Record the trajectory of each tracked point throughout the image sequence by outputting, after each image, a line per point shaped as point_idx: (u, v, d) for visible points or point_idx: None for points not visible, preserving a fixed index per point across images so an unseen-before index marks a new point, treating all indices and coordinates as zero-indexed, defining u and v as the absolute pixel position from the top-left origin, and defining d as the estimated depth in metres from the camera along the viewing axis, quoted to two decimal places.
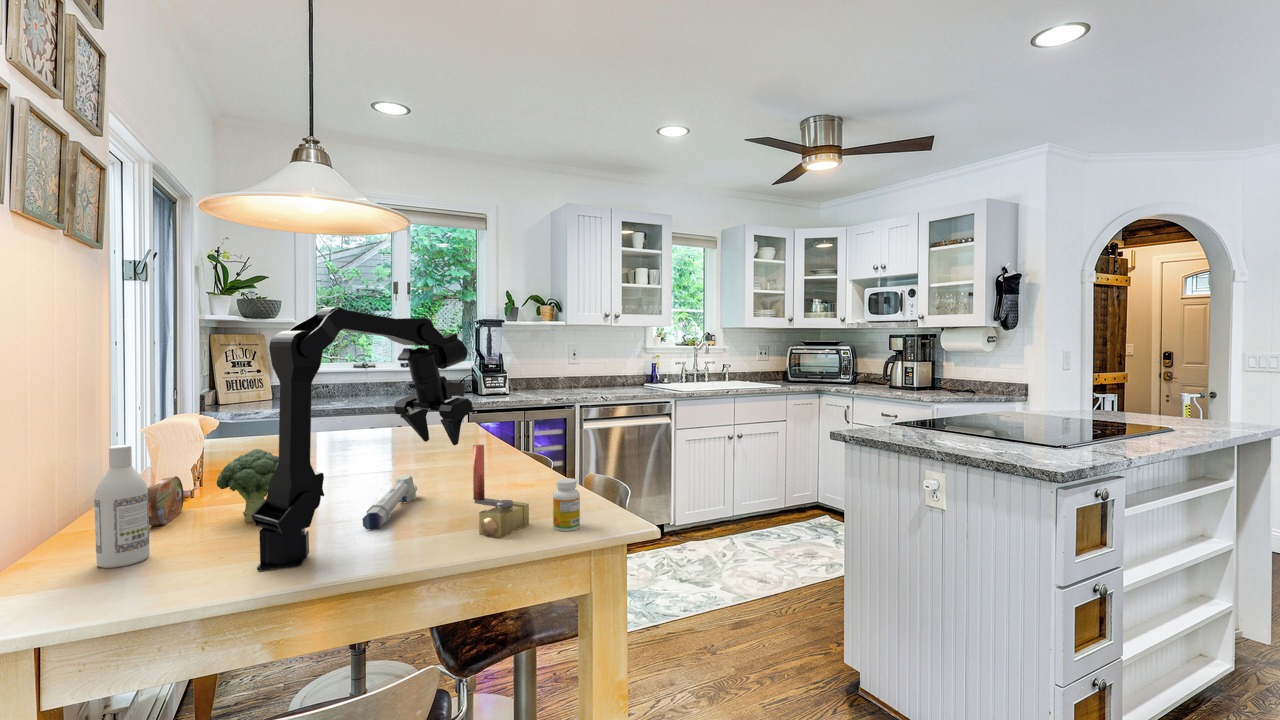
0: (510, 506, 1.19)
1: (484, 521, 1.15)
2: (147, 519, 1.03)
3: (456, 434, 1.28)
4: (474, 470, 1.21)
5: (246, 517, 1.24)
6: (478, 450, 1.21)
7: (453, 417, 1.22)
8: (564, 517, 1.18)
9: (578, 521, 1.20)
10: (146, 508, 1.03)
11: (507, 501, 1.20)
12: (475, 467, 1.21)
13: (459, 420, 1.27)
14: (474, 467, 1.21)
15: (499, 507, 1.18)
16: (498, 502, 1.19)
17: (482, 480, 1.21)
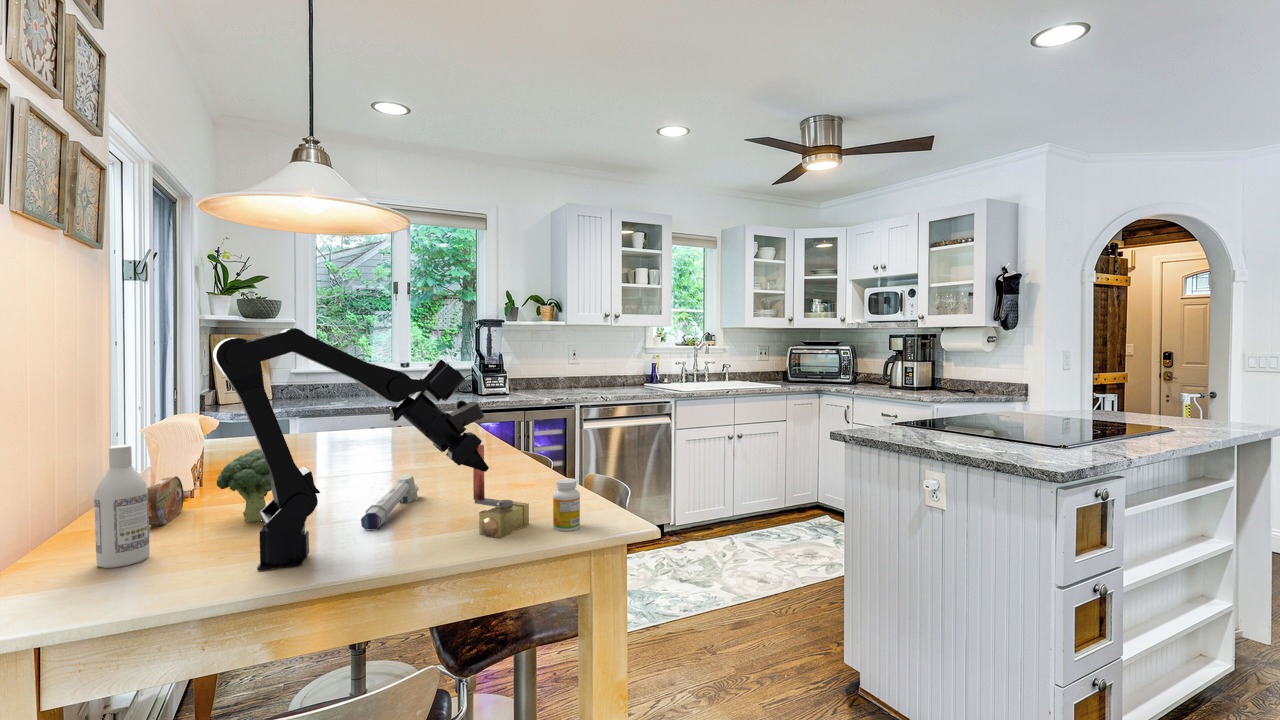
0: (510, 506, 1.19)
1: (484, 521, 1.15)
2: (147, 519, 1.03)
3: (479, 463, 1.20)
4: (474, 470, 1.21)
5: (246, 517, 1.24)
6: (478, 450, 1.21)
7: (459, 463, 1.11)
8: (564, 517, 1.18)
9: (578, 521, 1.20)
10: (146, 508, 1.03)
11: (507, 501, 1.20)
12: None
13: (473, 450, 1.18)
14: None
15: (499, 507, 1.18)
16: (498, 502, 1.19)
17: (482, 480, 1.21)
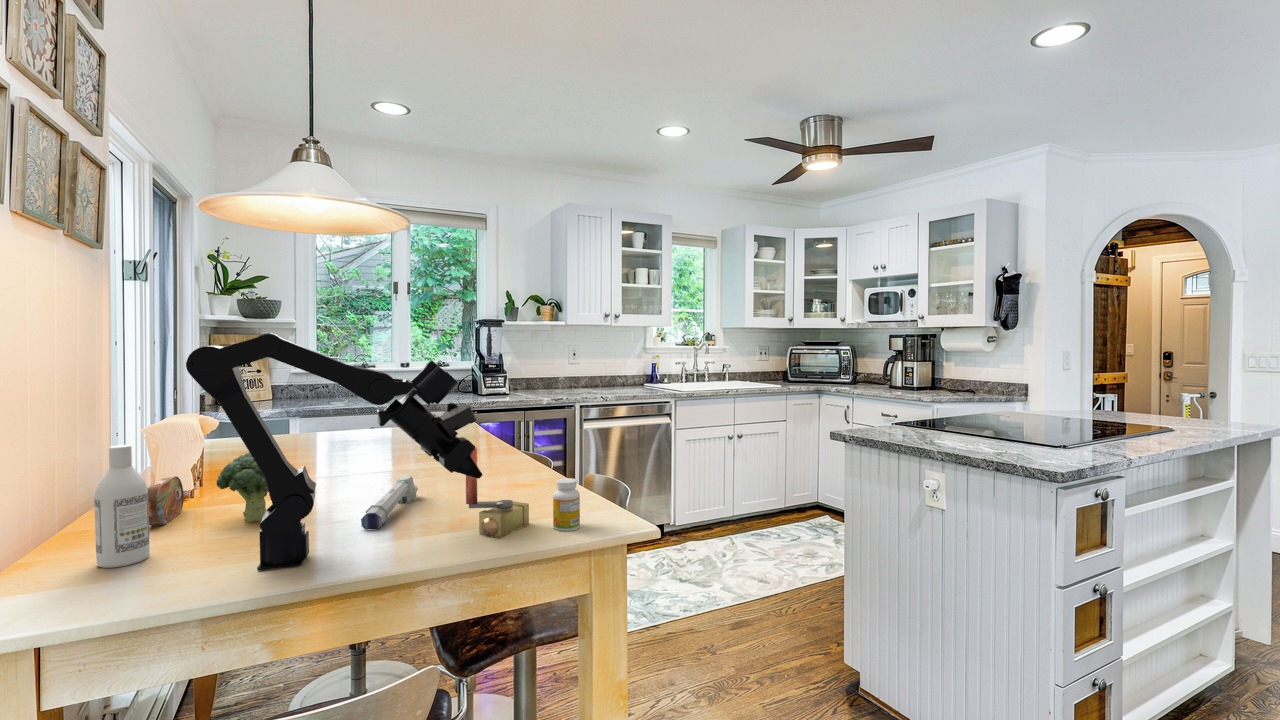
0: (512, 505, 1.19)
1: (484, 521, 1.15)
2: (147, 519, 1.03)
3: (473, 469, 1.14)
4: None
5: (246, 517, 1.24)
6: (474, 453, 1.18)
7: (451, 470, 1.06)
8: (564, 517, 1.18)
9: (578, 521, 1.20)
10: (146, 508, 1.03)
11: (506, 501, 1.20)
12: None
13: (467, 457, 1.12)
14: None
15: (503, 507, 1.18)
16: (499, 503, 1.18)
17: (476, 483, 1.19)
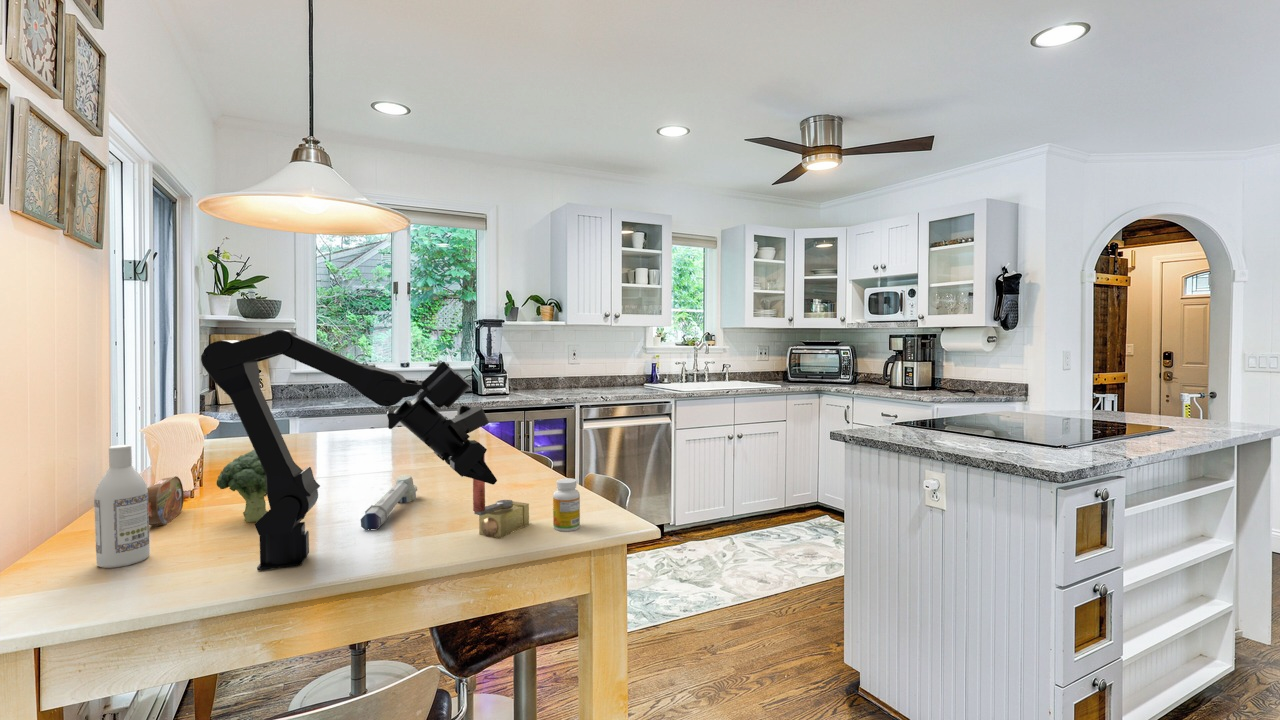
0: None
1: (484, 521, 1.15)
2: (147, 519, 1.03)
3: (487, 475, 1.09)
4: None
5: (246, 517, 1.24)
6: (484, 457, 1.14)
7: (462, 474, 1.02)
8: (564, 517, 1.18)
9: (578, 521, 1.20)
10: (146, 508, 1.03)
11: (504, 501, 1.20)
12: None
13: (480, 462, 1.08)
14: None
15: (510, 506, 1.18)
16: (504, 503, 1.18)
17: None
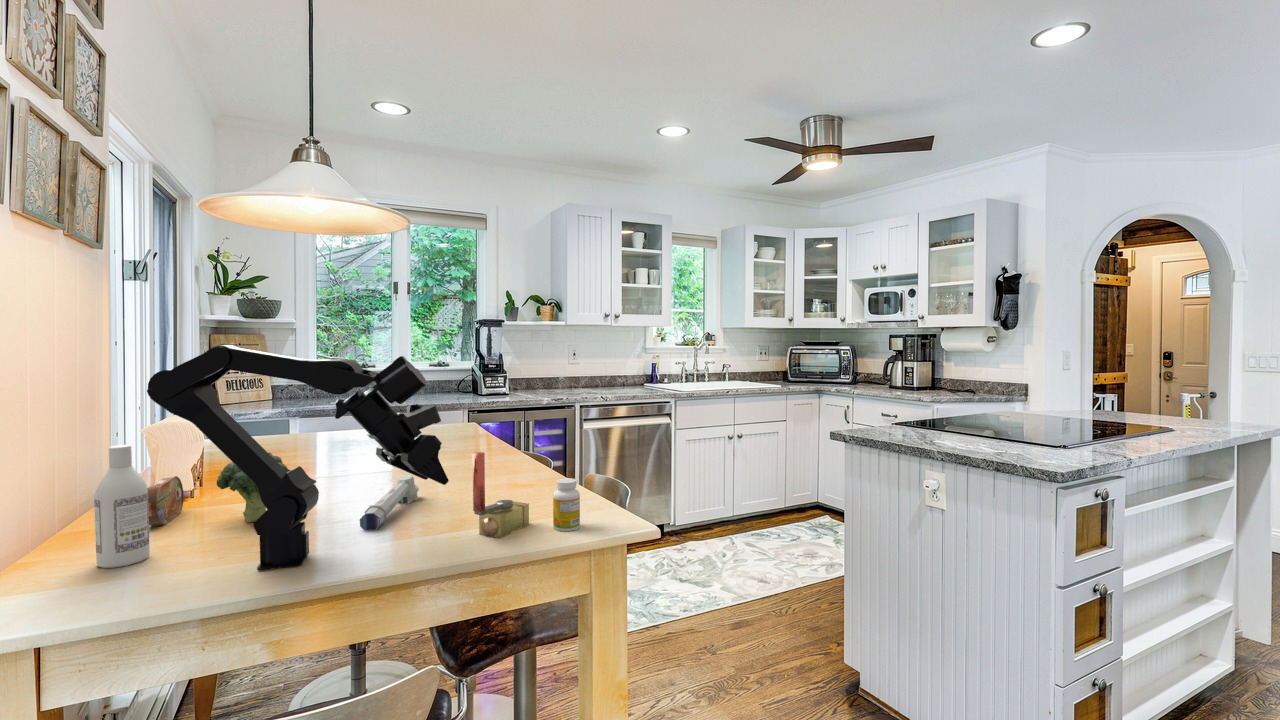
0: None
1: (484, 521, 1.15)
2: (147, 519, 1.03)
3: (439, 474, 1.05)
4: (481, 479, 1.13)
5: (246, 517, 1.24)
6: (484, 457, 1.14)
7: (415, 466, 0.99)
8: (564, 517, 1.18)
9: (578, 521, 1.20)
10: (146, 508, 1.03)
11: (504, 501, 1.20)
12: (482, 476, 1.13)
13: (434, 459, 1.04)
14: (481, 476, 1.13)
15: (510, 506, 1.18)
16: (504, 503, 1.18)
17: None
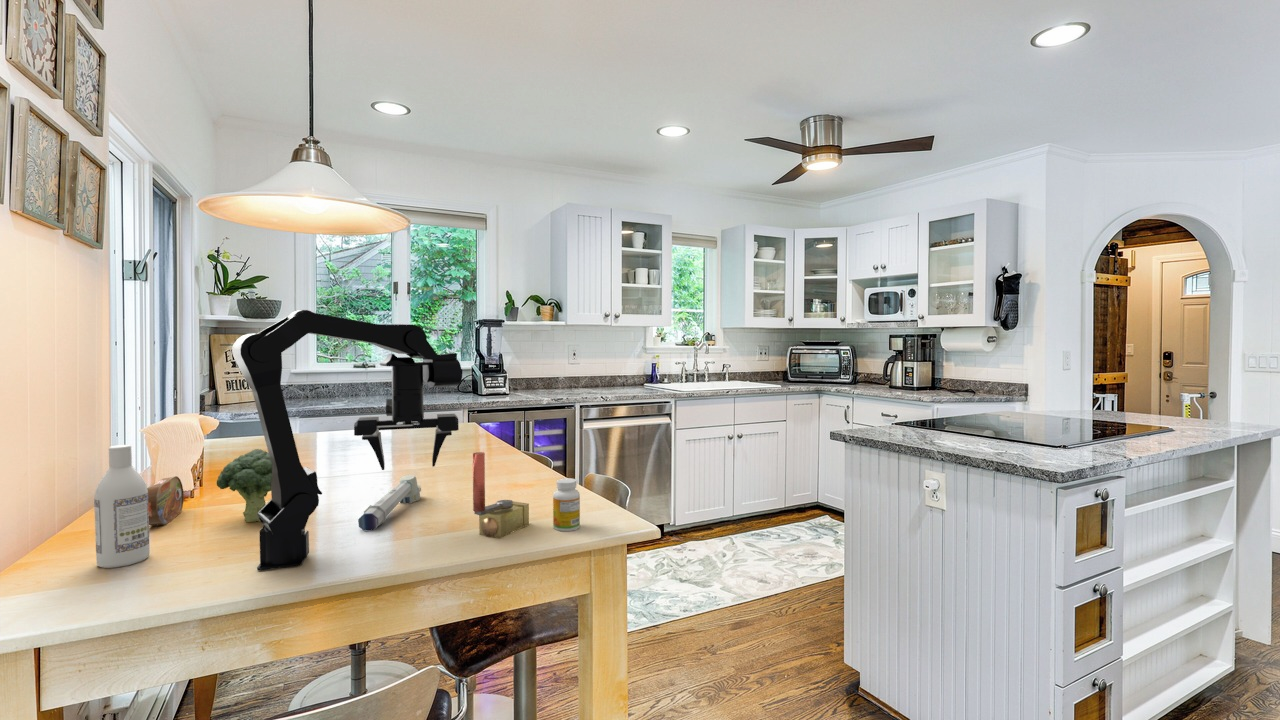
0: None
1: (484, 521, 1.15)
2: (147, 519, 1.03)
3: None
4: (481, 479, 1.13)
5: (246, 517, 1.24)
6: (484, 457, 1.14)
7: (457, 428, 1.17)
8: (564, 517, 1.18)
9: (578, 521, 1.20)
10: (146, 508, 1.03)
11: (504, 501, 1.20)
12: (482, 476, 1.13)
13: None
14: (481, 476, 1.13)
15: (510, 506, 1.18)
16: (504, 503, 1.18)
17: None
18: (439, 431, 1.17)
